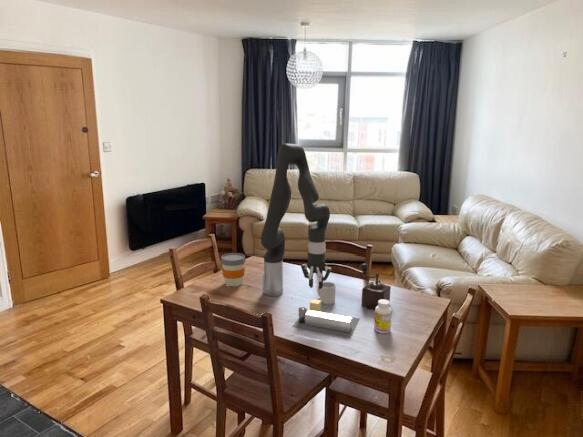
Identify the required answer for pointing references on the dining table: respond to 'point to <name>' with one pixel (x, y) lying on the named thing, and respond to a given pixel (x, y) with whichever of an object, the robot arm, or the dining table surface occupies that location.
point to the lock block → (315, 305)
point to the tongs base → (323, 321)
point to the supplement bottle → (383, 316)
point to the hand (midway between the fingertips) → (315, 287)
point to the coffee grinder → (373, 291)
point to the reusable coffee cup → (233, 268)
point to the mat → (328, 331)
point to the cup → (327, 293)
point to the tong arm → (331, 316)
